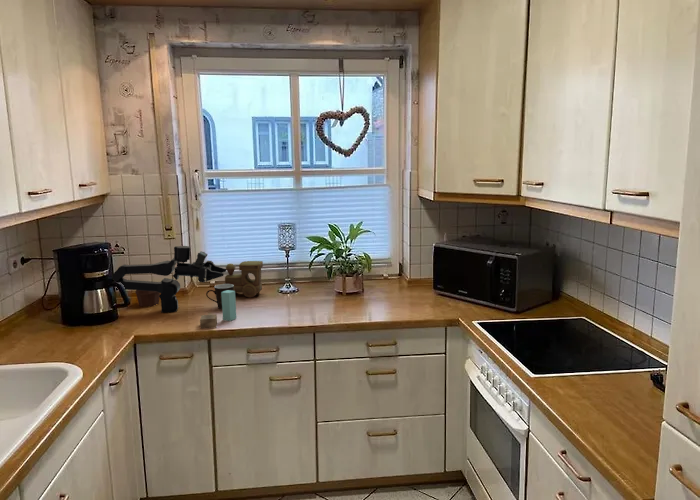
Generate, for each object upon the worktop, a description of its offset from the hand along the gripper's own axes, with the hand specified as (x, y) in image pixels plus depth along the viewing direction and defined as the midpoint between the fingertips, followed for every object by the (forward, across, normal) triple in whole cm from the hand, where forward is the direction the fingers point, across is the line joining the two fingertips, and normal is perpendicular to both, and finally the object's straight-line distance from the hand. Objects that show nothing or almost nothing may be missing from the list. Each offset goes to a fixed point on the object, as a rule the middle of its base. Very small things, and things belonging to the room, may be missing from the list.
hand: (224, 272), depth 238 cm
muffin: (-36, +13, +21) cm, 43 cm away
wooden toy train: (+6, +23, +16) cm, 29 cm away
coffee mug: (0, +2, +17) cm, 17 cm away
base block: (-2, -25, +17) cm, 30 cm away
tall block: (+5, -17, +16) cm, 24 cm away
